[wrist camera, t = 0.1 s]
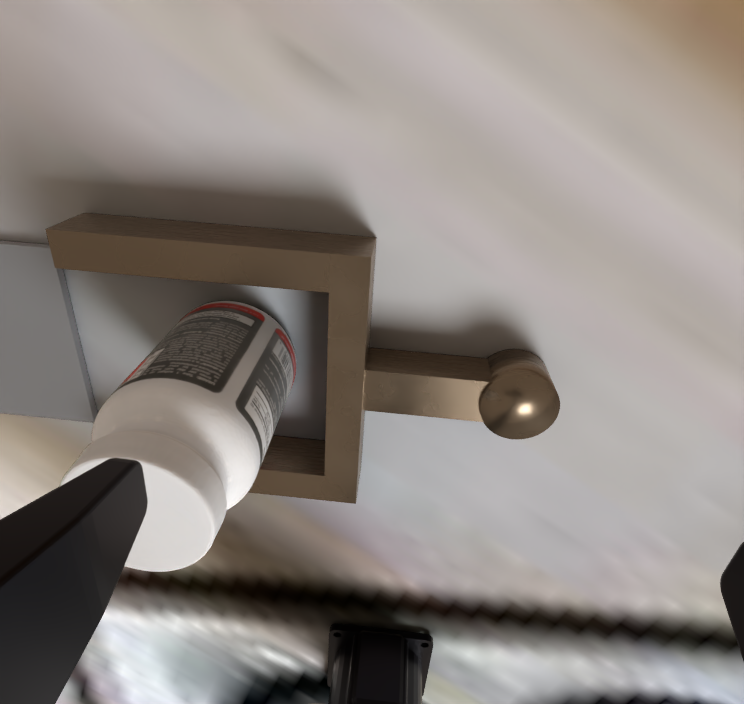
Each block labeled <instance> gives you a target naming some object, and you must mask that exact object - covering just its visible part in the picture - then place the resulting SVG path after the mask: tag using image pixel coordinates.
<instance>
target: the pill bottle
mask: <svg viewBox="0 0 744 704" xmlns="http://www.w3.org/2000/svg"><path fill="white" fill-rule="evenodd" d="M295 375H296V355H295V351H294V347H293V345H292V342H291V340H290V338H289V337H288V335H287V334H286V332H285V331H284V329H283V328H282V327H281V326H280V325H279V324H278V323H277V322H276V321H275V320H274V319H273V318H272V317H270V316H269V315H268V314H266V313H265V312H263V311H261V310H259V309H257V308H255V307H253V306H250V305H248V304H244V303H240V302H234V301H216V302H211V303H207V304H204V305H201V306H199V307H197V308H195V309H194V310H192V311H191V312H189V313H188V314H187V315H186V316H184V317H183V318H182V319H181V320H180V321H179V322H178V324H177V325H176V326H175V327H174V328H173V329H172V330H171V331H170V332H169V333H168V334H167V336H166V337H165V338H164V339H163V340H162V341H161V342H160V343H159V344H158V345H157V346H156V347H155V348H154V350H153V351H152V352H151V353H150V354H149V355H148V356H147V357H146V358H145V359H144V360H143V361H142V362H141V364H139V365H138V367H137V368H136V369H135V370H134V371H133V372H132V373H131V374H130V375H129V376H128V377H127V378H126V379H125V380H124V382H123V383H122V384H121V385H120V386H119V387H118V388H117V389H116V391H115V392H114V393H113V394H112V395H111V396H110V397H109V398H108V400H107V401H106V402H105V403H104V405H103V406H102V407H101V409H100V411H99V412H98V414H97V416H96V419H95V422H94V425H93V430H92V443H91V444H89V445H88V446H87V447H86V448H85V449H84V451H83V452H82V453H81V455H80V456H79V457H78V459H77V460H76V461H75V462H74V464H73V465H72V466H71V467H70V469H69V470H68V471H67V472H66V474H65V475H64V477H63V479H62V481H61V483H60V485H59V487H60V486H61V485H63V484H65V483H67V482H69V481H70V480H72V479H74V478H76V477H77V476H79V475H81V474H83V473H85V472H86V471H88V470H90V469H92V468H93V467H95V466H97V465H99V464H101V463H102V462H104V461H106V460H108V459H111V458H123V459H131V460H136V461H138V462H140V464H141V465H142V468H143V474H144V480H145V486H146V493H147V500H148V505H147V511H146V515H145V517H144V520H143V522H142V525H141V527H140V529H139V532H138V534H137V536H136V539H135V541H134V544H133V546H132V548H131V551H130V553H129V556H128V558H127V560H126V563H125V565H124V566H126V567H129V568H134V569H139V570H144V571H157V572H164V571H173V570H177V569H181V568H185V567H187V566H189V565H192V564H193V563H195V562H197V561H198V560H199V559H201V558H202V557H203V556H204V555H205V554H206V553H207V551H208V550H209V549H210V547H211V545H212V543H213V541H214V539H215V537H216V535H217V533H218V531H219V529H220V527H221V525H222V523H223V521H224V518H225V515H226V510H228V509H230V508H231V507H233V506H234V505H236V504H237V503H238V502H239V501H240V500H241V499H242V498H243V497H244V496H245V495H246V494H247V492H248V491H249V490H250V488H251V486H252V485H253V483H254V481H255V479H256V477H257V474H258V472H259V469H260V467H261V464H262V462H263V459H264V456H265V454H266V451H267V449H268V446H269V444H270V441H271V438H272V436H273V434H274V431H275V429H276V426H277V423H278V421H279V418H280V416H281V413H282V411H283V408H284V406H285V403H286V400H287V398H288V396H289V393H290V390H291V388H292V385H293V382H294V378H295Z"/></svg>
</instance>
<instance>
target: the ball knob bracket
mask: <svg viewBox="0 0 744 704" xmlns="http://www.w3.org/2000/svg"><path fill="white" fill-rule="evenodd" d="M45 230H46V234H47V238H48V242H49V246H50V250H51V254H52V258H53V262H54V266H55V268H59V269H70V270H81V271H92V272H103V273H115V274H126V275H137V276H148V277H160V278H171V279H182V280H193V281H204V282H216V283H227V284H238V285H249V286H261V287H272V288H283V289H294V290H305V291H317V292H328V293H329V307H328V350H327V393H326V436H325V441H322V440H312V439H302V438H292V437H282V436H272V438H271V441H270V444H269V446H268V449H267V451H266V454H265V456H264V459H263V462H262V464H261V467H260V469H259V472H258V474H257V477H256V479H255V481H254V483H253V485H252V486H251V488H250V490H249V491H248V492H251V493H260V494H270V495H279V496H289V497H298V498H308V499H317V500H327V501H336V502H345V503H355V504H356V498H357V491H358V485H359V478H360V471H361V460H362V445H363V430H364V416H365V410H367V411H377V412H387V413H397V414H408V415H418V416H428V417H438V418H448V419H458V420H469V421H479V422H484V424H485V425H486V426H487V428H488V429H489V430H491V431H492V432H493V433H495V434H497V435H499V436H501V437H504V438H508V439H526V438H530V437H533V436H536V435H538V434H540V433H542V432H544V431H545V430H546V429H548V428H549V427H550V426H551V425H552V424H553V422H554V421H555V420H556V418H557V416H558V413H559V409H560V400H559V396H558V394H557V391H556V389H555V387H554V385H553V382H552V380H551V378H550V375H549V373H548V371H547V368H546V366H545V364H544V363H543V361H542V360H541V359H540V358H539V357H538V356H536V355H535V354H533V353H531V352H528V351H525V350H520V349H508V350H503V351H500V352H498V353H495V354H493V355H492V356H490V357H489V358H476V357H466V356H455V355H444V354H433V353H423V352H412V351H401V350H391V349H380V348H369V342H370V327H371V312H372V297H373V282H374V268H375V253H376V238H377V237H365V236H353V235H341V234H330V233H318V232H306V231H294V230H282V229H270V228H258V227H247V226H235V225H223V224H211V223H199V222H187V221H175V220H164V219H152V218H140V217H128V216H116V215H104V214H93V213H83V214H80V215H78V216H76V217H73V218H71V219H68V220H66V221H64V222H61V223H59V224H56V225H54V226H52V227H49V228H47V229H45Z"/></svg>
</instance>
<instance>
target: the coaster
mask: <svg viewBox="0 0 744 704" xmlns="http://www.w3.org/2000/svg"><path fill="white" fill-rule="evenodd" d="M0 413H4V414H14V415H24V416H34V417H44V418H54V419H63V420H73V421H83V422H93V423H94V422H95V419H96V416H97V409H96V405H95V401H94V397H93V393H92V388H91V384H90V380H89V376H88V372H87V368H86V363H85V359H84V355H83V351H82V347H81V342H80V338H79V334H78V330H77V326H76V322H75V317H74V313H73V309H72V305H71V301H70V296H69V292H68V288H67V284H66V280H65V276H64V271H63V269H59V268H55V266H54V262H53V258H52V254H51V250H50V246H49V245H46V244H35V243H23V242H12V241H0Z"/></svg>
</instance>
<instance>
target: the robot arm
mask: <svg viewBox="0 0 744 704" xmlns="http://www.w3.org/2000/svg"><path fill="white" fill-rule="evenodd" d="M147 505H148V500H147V493H146V486H145V480H144V474H143V468H142V465H141V464H140V462H138V461H136V460H131V459H123V458H111V459H108V460H106V461H104V462H102V463H101V464H99V465H97V466H95V467H93V468H92V469H90V470H88V471H86V472H85V473H83V474H81V475H79V476H77V477H76V478H74V479H72V480H70V481H69V482H67V483H65V484H63V485H61V486H60V487H58V488H56V489H54V490H52V491H51V492H49V493H47V494H45V495H44V496H42V497H40V498H38V499H36V500H35V501H33V502H31V503H29V504H28V505H26V506H24V507H22V508H20V509H19V510H17V511H15V512H13V513H12V514H10V515H8V516H6V517H4V518H3V519H1V520H0V704H55V703H56V701H57V699H58V697H59V696H60V694H61V692H62V690H63V688H64V686H65V685H66V683H67V681H68V679H69V677H70V675H71V674H72V672H73V670H74V668H75V666H76V664H77V663H78V661H79V659H80V657H81V655H82V653H83V652H84V650H85V648H86V646H87V644H88V642H89V640H90V639H91V637H92V635H93V633H94V631H95V629H96V627H97V626H98V624H99V622H100V620H101V618H102V616H103V614H104V612H105V610H106V607H107V605H108V603H109V601H110V598H111V596H112V594H113V591H114V589H115V587H116V584H117V582H118V579H119V577H120V575H121V572H122V570H123V567H124V565H125V563H126V560H127V558H128V556H129V553H130V551H131V548H132V546H133V544H134V541H135V539H136V536H137V534H138V532H139V529H140V527H141V525H142V522H143V520H144V517H145V515H146V511H147ZM720 586H721V593H722V596H723V599H724V602H725V605H726V608H727V611H728V615H729V618H730V621H731V624H732V627H733V630H734V633H735V636H736V639H737V642H738V645H739V648H740V651H741V655H742V658H743V661H744V542H743V543H742V544H741V545H740V547H739V548H738V550H737V551H736V553H735V555H734V556H733V558H732V559H731V561H730V562H729V564H728V566H727V567H726V569H725V570H724V572H723V574H722V576H721V582H720ZM432 648H433V638H432V637H431V636H430V635H428V634H421V633H412V632H403V631H395V630H386V629H378V628H369V627H360V626H352V625H343V624H334V625H332V626H331V627H330V633H329V655H328V683H327V684H328V686H329V687H331V688H330V695H329V701H328V704H422V696H423V693H424V688H425V683H426V678H427V673H428V668H429V663H430V658H431V653H432Z"/></svg>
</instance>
